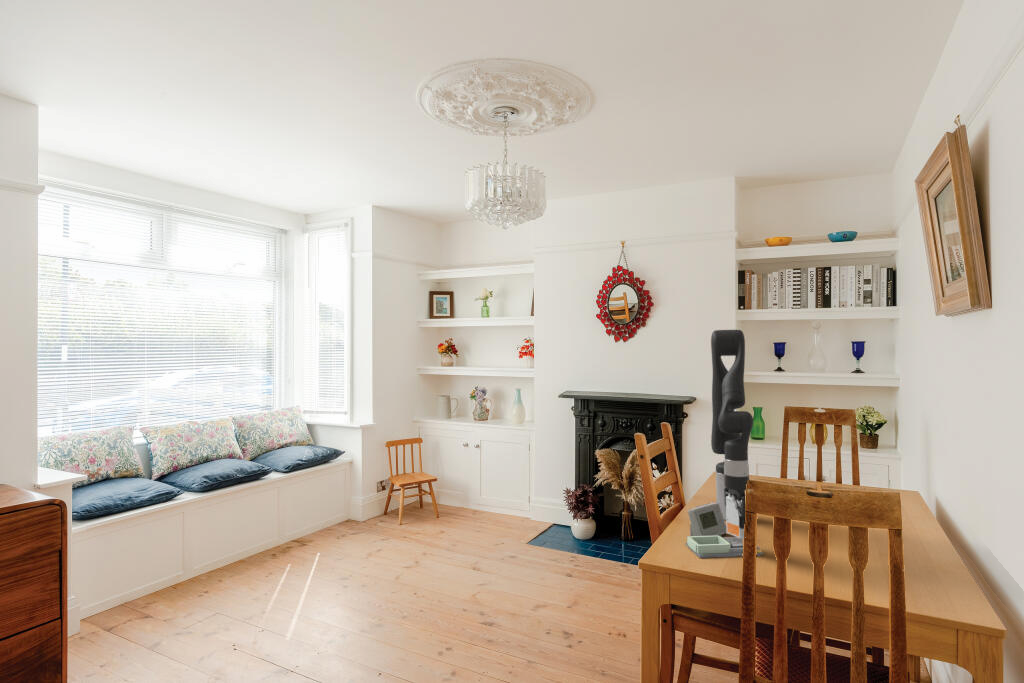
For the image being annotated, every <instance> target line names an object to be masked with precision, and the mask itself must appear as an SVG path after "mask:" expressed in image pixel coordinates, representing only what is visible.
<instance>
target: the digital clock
mask: <svg viewBox="0 0 1024 683" xmlns="http://www.w3.org/2000/svg"><path fill="white" fill-rule="evenodd" d="M687 513H688V518H689V522H690V524H689V535H690V536H714V535H719V536H721V537H722V536H724V535H726V534H727V533H726V520H724V518H723V514H722V511H721V508H720V505H719V504H718V503H717V502H716V501H715V502H711V503H710V502H708V503H705V504H702V505H697V506H695V507H692V508H690V509H688V511H687Z"/></svg>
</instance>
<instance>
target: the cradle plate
mask: <svg viewBox="0 0 1024 683" xmlns="http://www.w3.org/2000/svg"><path fill="white" fill-rule="evenodd" d="M722 538H723V539H725V540H726V541H727V542H729V543H730V544H731V546H732V547H736V546H743V539H744V538H738V537H736V536H723V537H722Z"/></svg>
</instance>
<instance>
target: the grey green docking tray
mask: <svg viewBox="0 0 1024 683" xmlns="http://www.w3.org/2000/svg"><path fill="white" fill-rule="evenodd" d="M686 540H687V542H685V546H686V545H687V546H688V547H689V548H690V549H691V550H690V549H689V548H688V547H687V546H686V547H687V548H688V549H689V550H690V551H691V552H692V553H694V554H695V556H697V557H698V558H699V559H706V558H707V559H710V558H709V557H713V559H714V557H716V558H734V557H735V558H737V557H736V556H739V557H740V556H741V557H743V556H742V554H743V546H736V547H732V546H731V544H730V543H729V542H727V541H726V540H725V539H723V537H722V535H721V536H719V535H714V536H687V537H686ZM756 546H757V556H756V557H761V556H760V555H764V552H763V551H762V549H761V548H760V547H759V546H758V545H756ZM764 556H765V555H764Z"/></svg>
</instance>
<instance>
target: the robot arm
mask: <svg viewBox="0 0 1024 683" xmlns="http://www.w3.org/2000/svg"><path fill="white" fill-rule="evenodd" d="M710 346H711V347H710V348H711V350H710V351H711V364H712V366H711V367H712V381H711V385H712V386H711V406H712V407H711V408H712V422H711V424H712V425H711V435H710V436H711V441H710V442H711V445H710V446H711V450H712V452H713V453H714V454H716V455H724V461H720V462H717V464H715V485H716V487H715V488H716V491H715V493H716V494H715V495H716V501H715V502H717V503H718V504H719V505H720V508H721V511H722V514H723V518H724V521H726V497H727V496H729V497H732V499H733V501H734V504H735V508H736V510H738V514H739V528H741V529H744V524H745V496H746V491H747V490H746V484H747V481H748V480H749V481H750V465H749V456H748V455H749V453H748V452H749V441H750V436H751V434H752V430H753V427H754V418H753V415H752V414H751V413H750V411H749V412H748V411H745V410H741V411H739V410H738V409H741V408H743V407H744V406H745V403H746V396H745V383H744V382H745V375H744V374H745V361H746V358H745V357H746V340H745V334H744V332H743V330H741V329H717V330H713V331H712V333H711V337H710ZM730 356H731V357H732V356H733V357H734V356H735V357H734V362H733V364H732V365H731V367H730V368H729V370H728V369H727V368H726V366H725V364H724V362H723V360H722V357H730ZM735 410H736V411H735ZM746 497H747V496H746ZM737 500H738V501H741V506H740V507H739V506H738V503H737Z"/></svg>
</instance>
